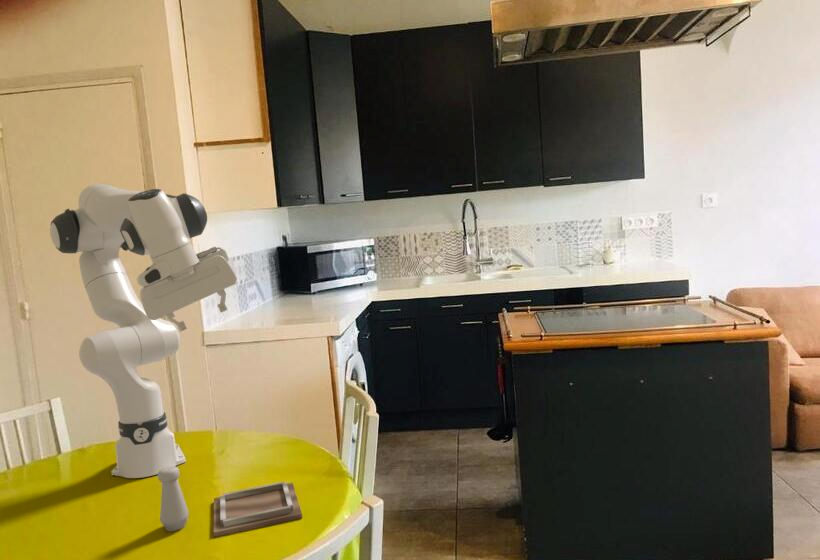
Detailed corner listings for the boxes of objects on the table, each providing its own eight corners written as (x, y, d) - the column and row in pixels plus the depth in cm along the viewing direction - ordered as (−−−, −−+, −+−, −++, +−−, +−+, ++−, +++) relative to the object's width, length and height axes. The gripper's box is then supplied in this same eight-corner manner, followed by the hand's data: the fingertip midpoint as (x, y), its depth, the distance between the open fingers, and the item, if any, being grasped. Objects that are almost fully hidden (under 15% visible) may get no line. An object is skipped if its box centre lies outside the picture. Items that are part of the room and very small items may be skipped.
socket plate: (214, 502, 155) (213, 493, 155) (292, 486, 160) (291, 477, 160) (214, 537, 138) (213, 526, 138) (302, 518, 143) (301, 508, 142)
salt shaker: (180, 533, 141) (172, 474, 139) (156, 533, 142) (147, 474, 141) (194, 520, 146) (187, 462, 145) (171, 520, 148) (163, 463, 146)
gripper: (219, 243, 151) (244, 299, 154) (129, 281, 143) (157, 339, 146) (224, 243, 145) (250, 301, 148) (131, 283, 137) (161, 343, 141)
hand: (204, 320), depth 147 cm, fingers open, 8 cm apart
